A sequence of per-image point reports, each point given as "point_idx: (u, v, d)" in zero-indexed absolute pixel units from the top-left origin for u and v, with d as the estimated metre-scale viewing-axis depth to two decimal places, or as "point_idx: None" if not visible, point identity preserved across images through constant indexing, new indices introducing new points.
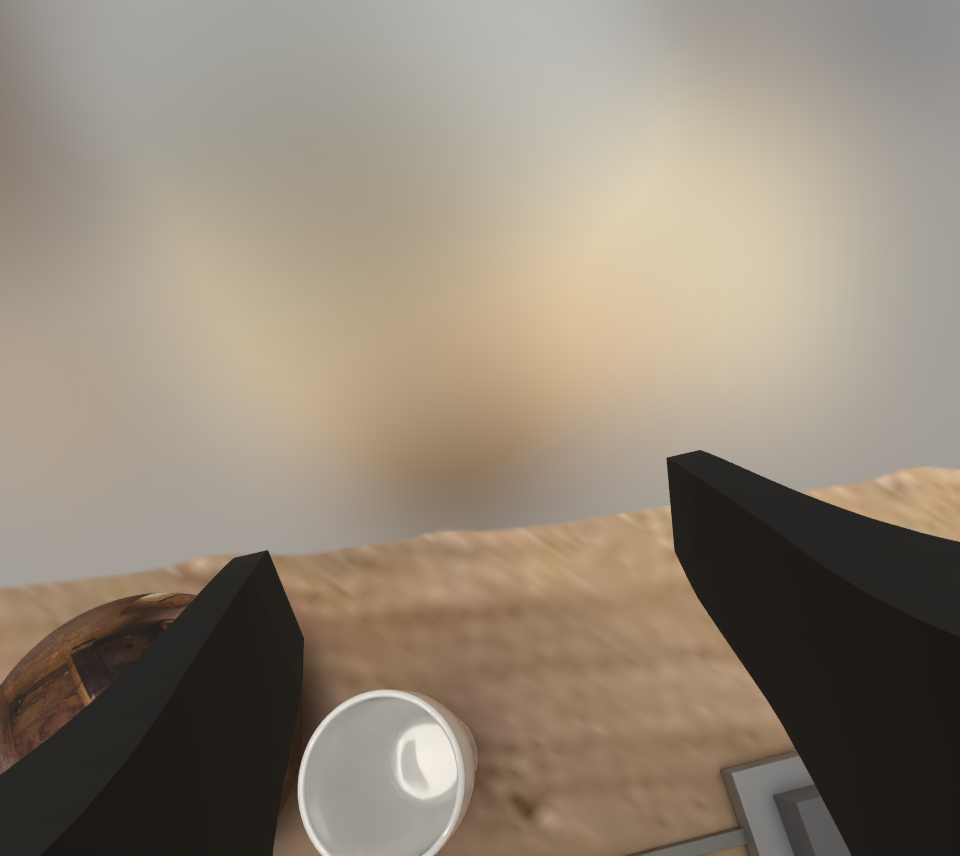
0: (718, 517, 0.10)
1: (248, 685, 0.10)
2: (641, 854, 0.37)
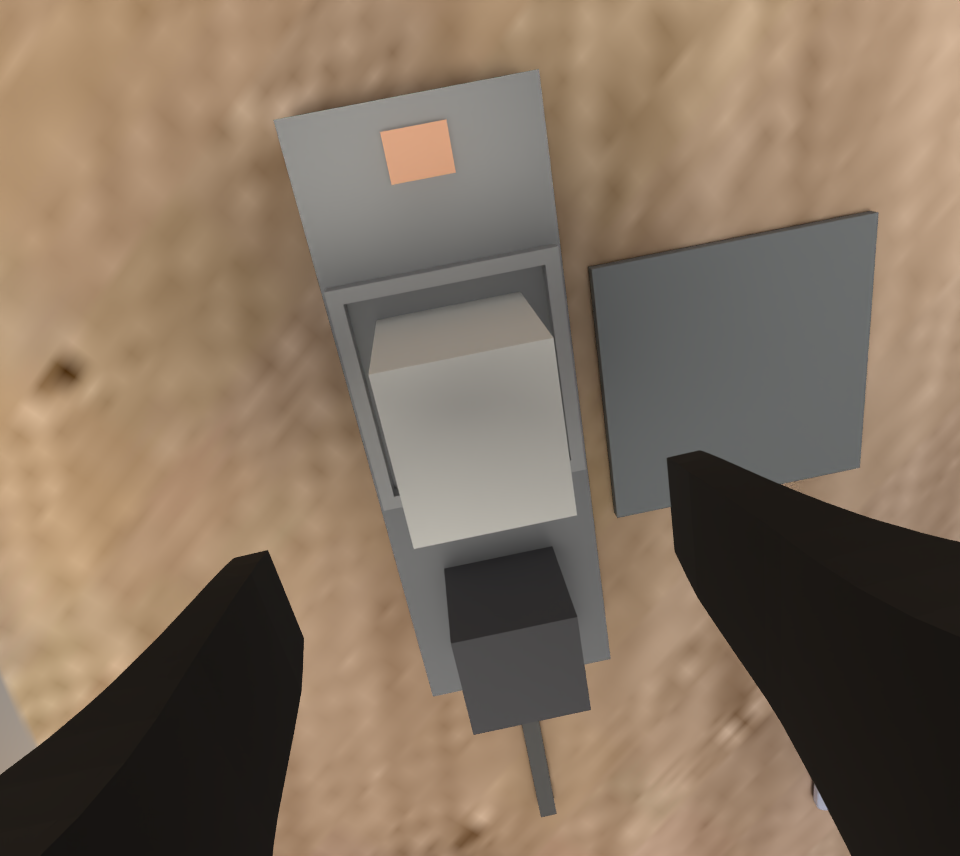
0: (718, 517, 0.10)
1: (248, 685, 0.10)
2: None
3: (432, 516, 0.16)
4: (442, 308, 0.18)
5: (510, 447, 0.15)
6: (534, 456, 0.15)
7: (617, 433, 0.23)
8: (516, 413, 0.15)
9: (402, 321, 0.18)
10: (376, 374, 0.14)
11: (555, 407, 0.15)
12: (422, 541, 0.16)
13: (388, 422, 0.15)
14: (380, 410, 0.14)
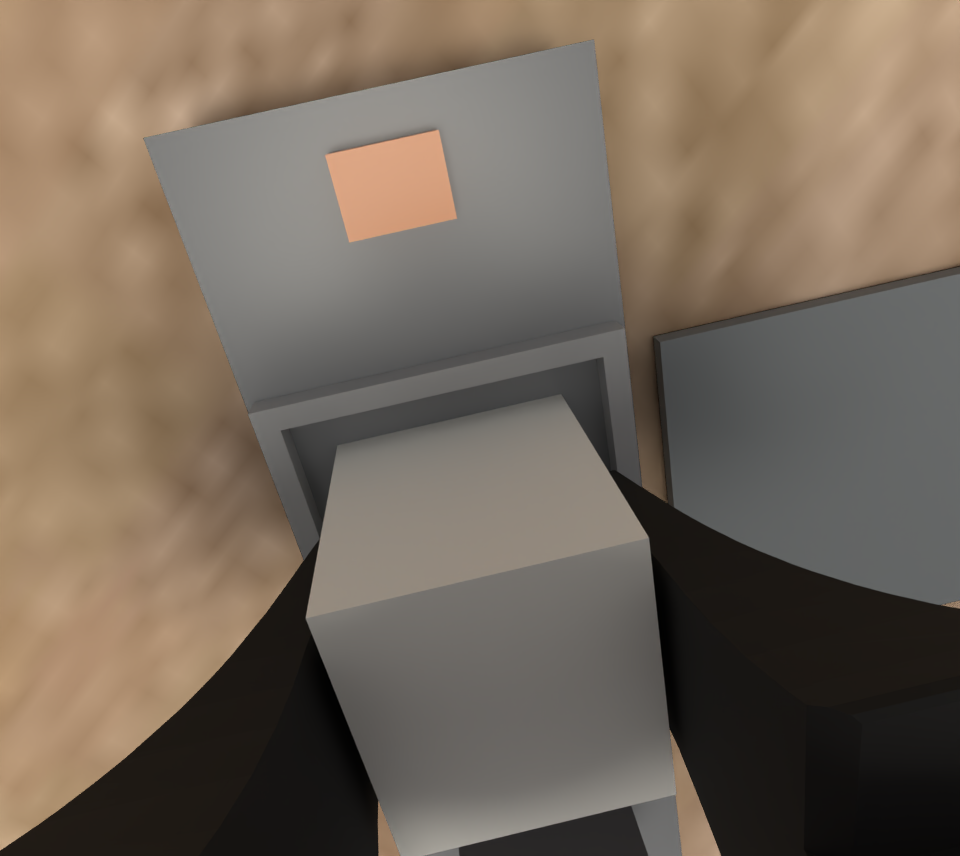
0: None
1: None
2: None
3: (432, 815, 0.09)
4: (440, 425, 0.12)
5: (567, 709, 0.09)
6: (608, 719, 0.09)
7: None
8: (579, 659, 0.08)
9: (376, 453, 0.11)
10: (320, 616, 0.08)
11: (647, 645, 0.08)
12: (416, 850, 0.09)
13: (348, 689, 0.08)
14: (332, 671, 0.08)
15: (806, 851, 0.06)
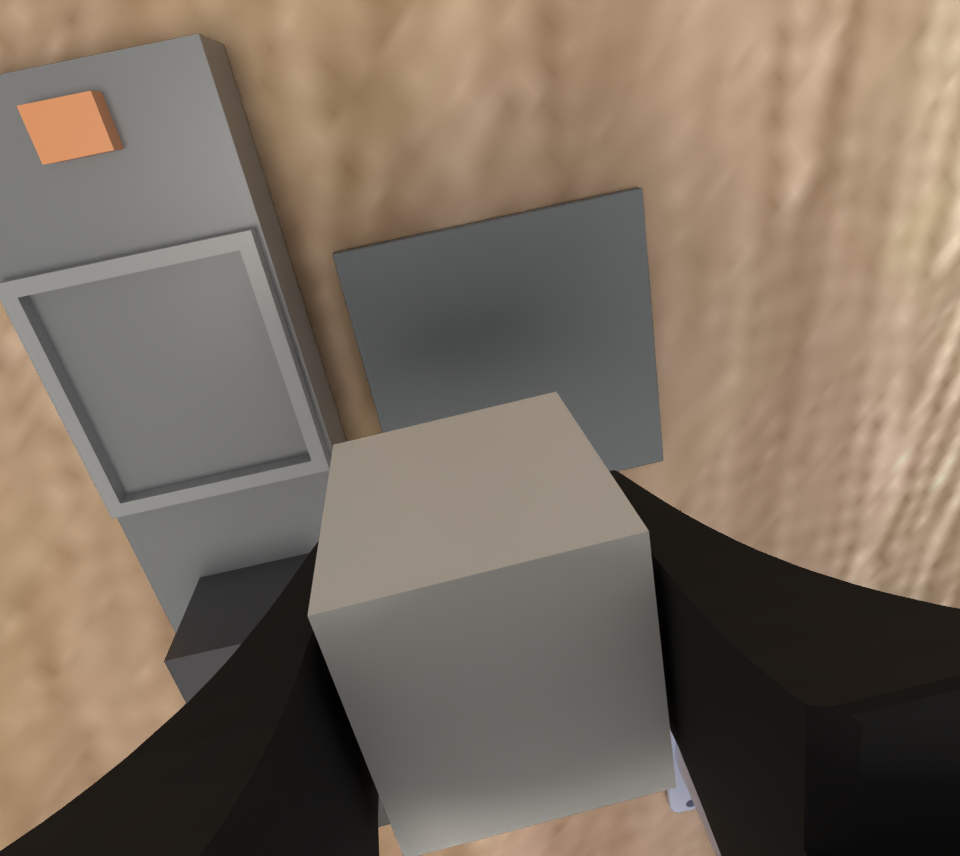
0: None
1: None
2: None
3: (434, 812, 0.09)
4: (436, 423, 0.12)
5: (568, 703, 0.09)
6: (608, 713, 0.09)
7: (391, 429, 0.21)
8: (579, 653, 0.08)
9: (373, 452, 0.11)
10: (322, 614, 0.08)
11: (647, 638, 0.08)
12: (418, 848, 0.09)
13: (349, 687, 0.08)
14: (334, 669, 0.08)
15: (806, 851, 0.06)
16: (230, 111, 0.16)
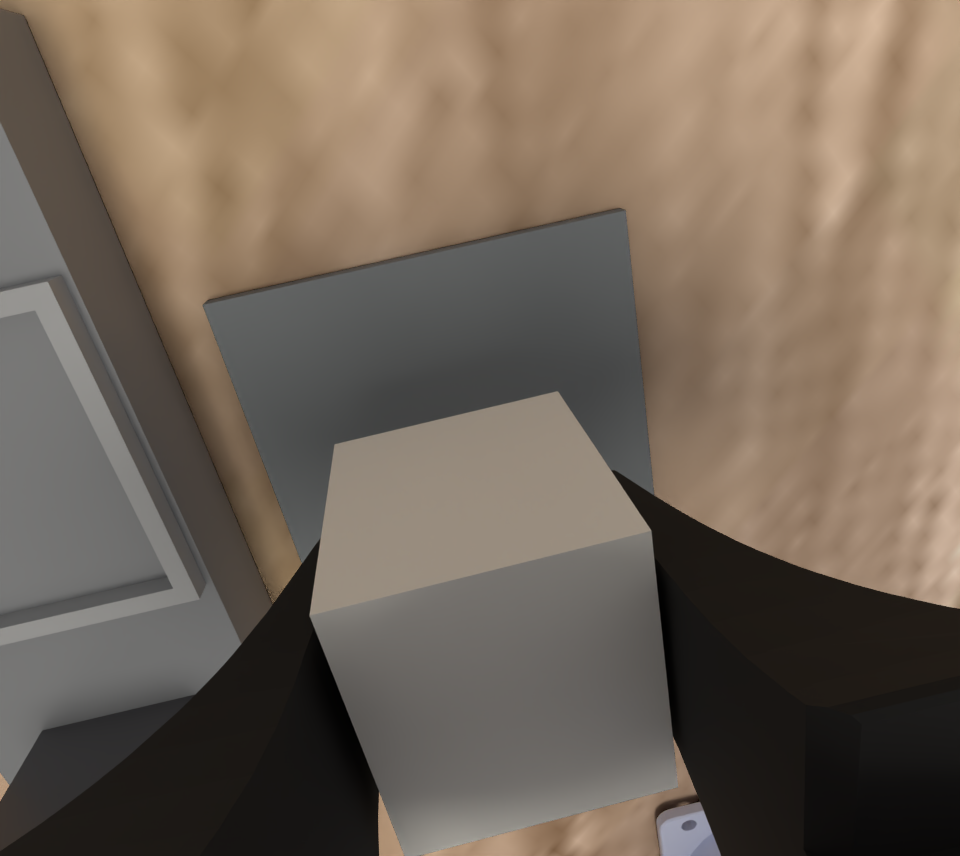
0: None
1: None
2: None
3: (436, 812, 0.09)
4: (437, 423, 0.12)
5: (569, 703, 0.09)
6: (611, 713, 0.09)
7: (301, 527, 0.16)
8: (581, 653, 0.08)
9: (374, 452, 0.11)
10: (324, 613, 0.08)
11: (649, 638, 0.08)
12: (420, 848, 0.09)
13: (351, 686, 0.08)
14: (336, 668, 0.08)
15: (805, 851, 0.06)
16: (18, 109, 0.11)
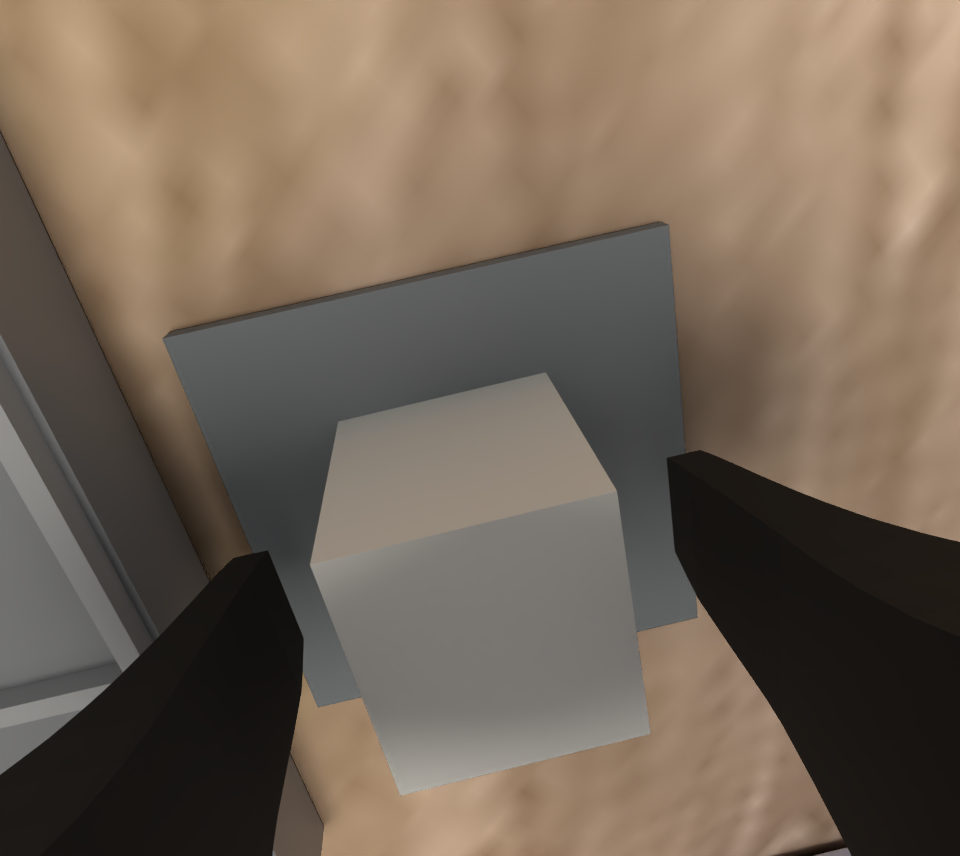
0: (718, 517, 0.10)
1: (248, 685, 0.10)
2: None
3: (427, 752, 0.10)
4: (433, 402, 0.12)
5: (548, 651, 0.09)
6: (586, 661, 0.10)
7: (284, 590, 0.14)
8: (556, 604, 0.09)
9: (374, 427, 0.12)
10: (323, 563, 0.08)
11: (619, 591, 0.09)
12: (413, 785, 0.10)
13: (348, 631, 0.09)
14: (334, 614, 0.09)
15: None
16: None
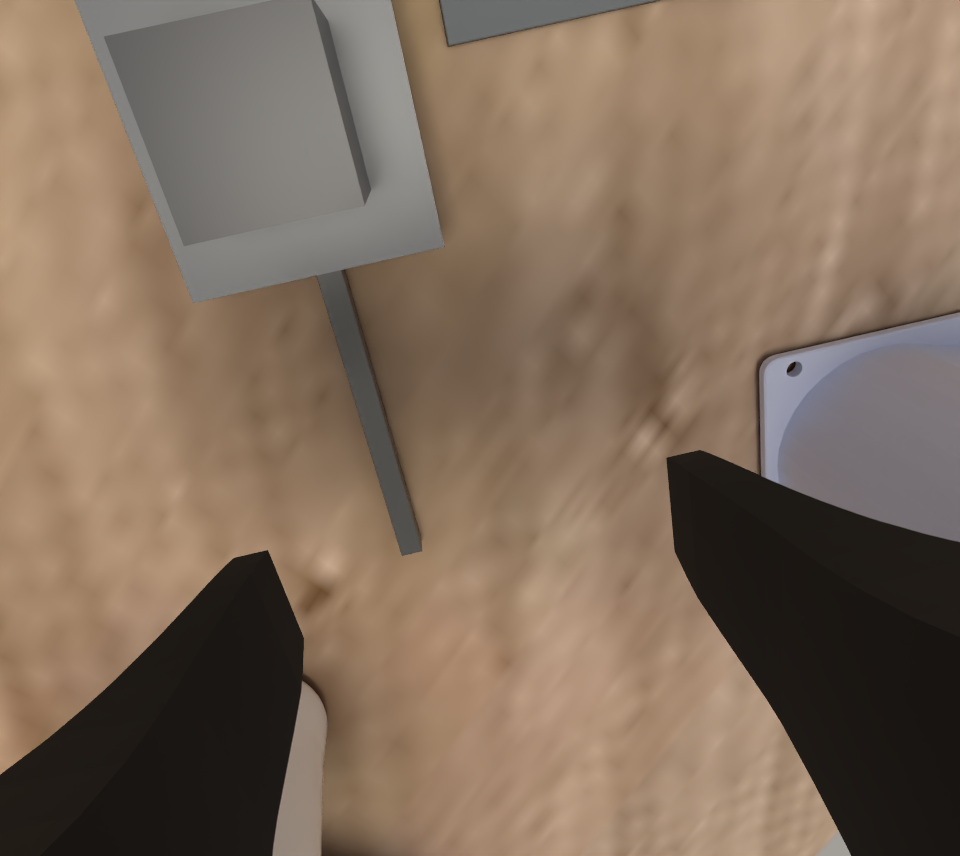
0: (718, 517, 0.10)
1: (248, 685, 0.10)
2: (368, 443, 0.21)
3: None
4: None
5: None
6: None
7: None
8: None
9: None
10: None
11: None
12: None
13: None
14: None
15: None
16: None
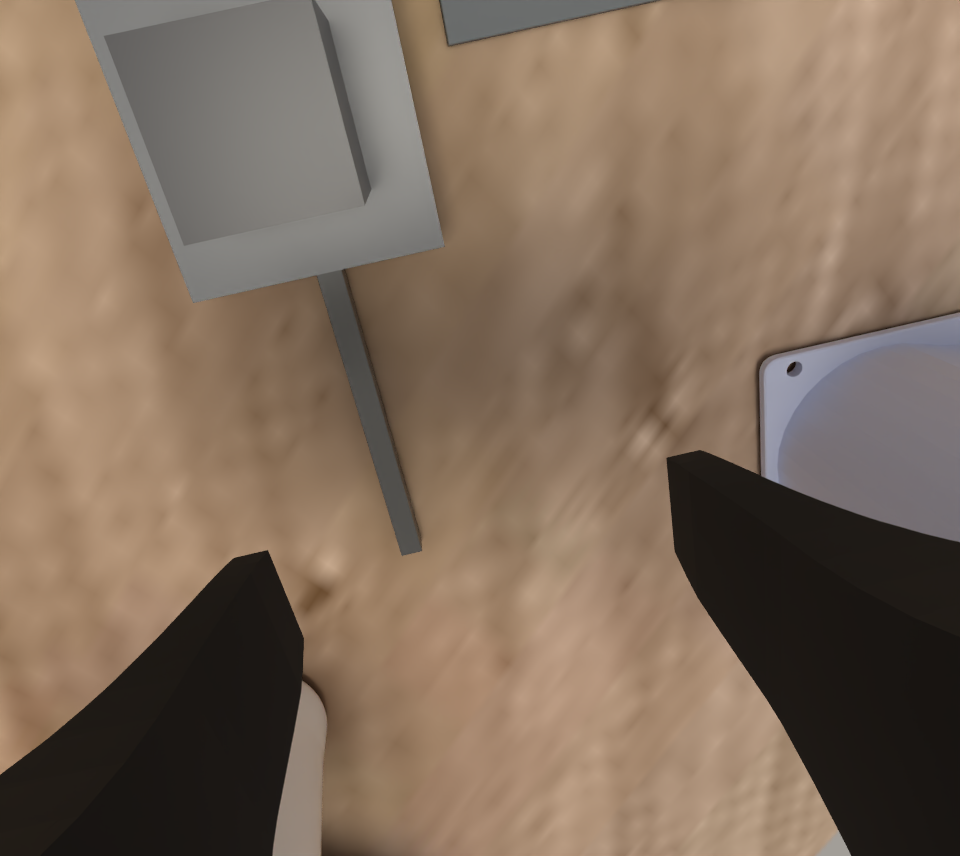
0: (718, 517, 0.10)
1: (248, 684, 0.10)
2: (368, 443, 0.21)
3: None
4: None
5: None
6: None
7: None
8: None
9: None
10: None
11: None
12: None
13: None
14: None
15: None
16: None
